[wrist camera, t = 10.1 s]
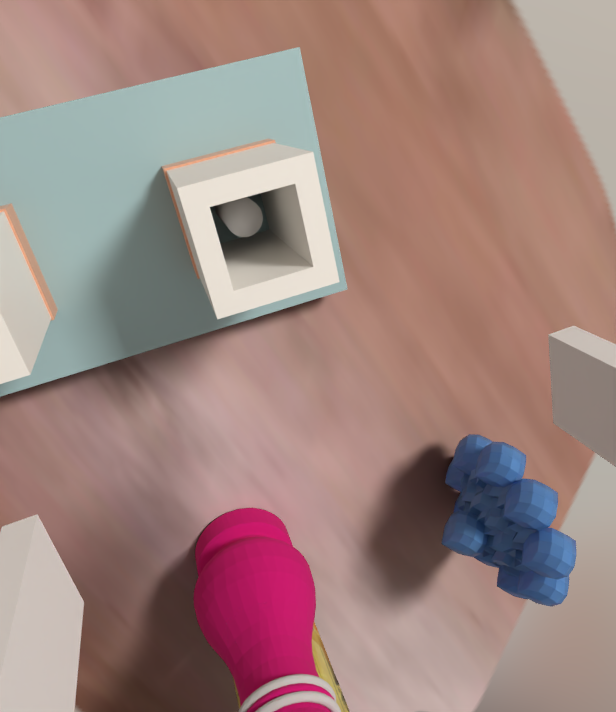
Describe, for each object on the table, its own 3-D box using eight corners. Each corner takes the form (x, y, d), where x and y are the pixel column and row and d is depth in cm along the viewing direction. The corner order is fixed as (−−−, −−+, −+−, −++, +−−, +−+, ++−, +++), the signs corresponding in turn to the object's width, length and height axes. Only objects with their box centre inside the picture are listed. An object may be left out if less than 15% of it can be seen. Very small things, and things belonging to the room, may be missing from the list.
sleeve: (292, 242, 30) (342, 283, 23) (194, 271, 30) (215, 322, 22) (268, 138, 28) (315, 148, 21) (161, 166, 27) (173, 186, 20)
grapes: (386, 419, 39) (484, 537, 28) (477, 384, 40) (606, 485, 29) (414, 547, 44) (507, 688, 33) (495, 514, 45) (609, 640, 34)
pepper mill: (241, 481, 37) (343, 817, 20) (315, 533, 41) (461, 863, 23) (163, 558, 38) (194, 953, 20) (243, 604, 41) (330, 978, 23)
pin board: (335, 279, 34) (374, 311, 29) (-60, 400, 30) (-100, 462, 25) (288, 50, 29) (325, 37, 23) (-195, 165, 25) (-281, 179, 20)
